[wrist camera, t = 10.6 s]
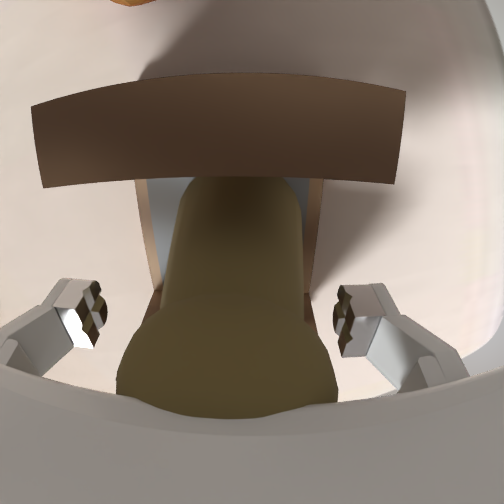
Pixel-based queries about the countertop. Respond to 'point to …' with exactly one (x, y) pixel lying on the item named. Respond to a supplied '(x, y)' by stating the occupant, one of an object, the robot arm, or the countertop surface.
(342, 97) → the holder
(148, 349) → the olive green bulbous cylinder
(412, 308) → the countertop surface
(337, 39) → the countertop surface
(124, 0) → the hot dog
